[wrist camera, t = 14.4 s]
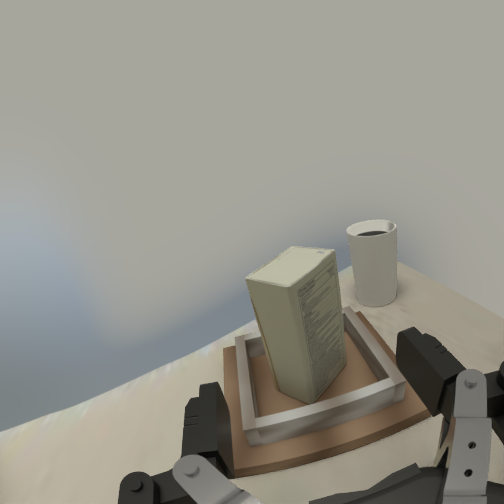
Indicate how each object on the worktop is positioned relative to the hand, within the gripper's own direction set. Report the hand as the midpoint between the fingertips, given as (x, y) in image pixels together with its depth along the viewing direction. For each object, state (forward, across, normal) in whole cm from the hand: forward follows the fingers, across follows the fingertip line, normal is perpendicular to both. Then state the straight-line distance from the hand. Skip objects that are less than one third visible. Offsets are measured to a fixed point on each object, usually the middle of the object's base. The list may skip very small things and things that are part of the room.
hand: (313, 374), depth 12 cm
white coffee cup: (+24, -15, +13) cm, 31 cm away
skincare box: (+11, -2, +12) cm, 16 cm away
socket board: (+11, -2, +13) cm, 18 cm away
